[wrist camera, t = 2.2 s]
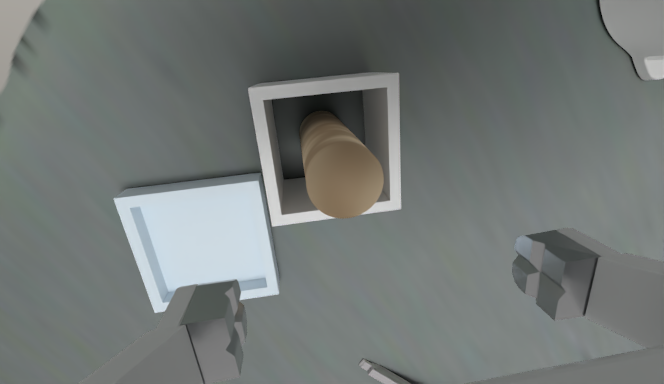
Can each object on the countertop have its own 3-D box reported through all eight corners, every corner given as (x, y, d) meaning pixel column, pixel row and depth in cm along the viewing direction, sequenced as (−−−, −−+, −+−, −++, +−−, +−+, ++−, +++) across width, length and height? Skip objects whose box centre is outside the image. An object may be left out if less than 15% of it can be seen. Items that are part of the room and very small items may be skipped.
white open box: (370, 72, 28) (398, 72, 21) (375, 176, 32) (401, 209, 24) (259, 83, 27) (247, 88, 20) (276, 188, 31) (272, 226, 23)
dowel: (341, 108, 29) (382, 139, 16) (344, 151, 30) (385, 213, 17) (296, 113, 29) (301, 149, 16) (302, 156, 30) (310, 223, 17)
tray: (260, 172, 30) (258, 180, 28) (279, 279, 34) (279, 293, 32) (126, 188, 29) (113, 198, 27) (164, 296, 34) (154, 312, 31)
